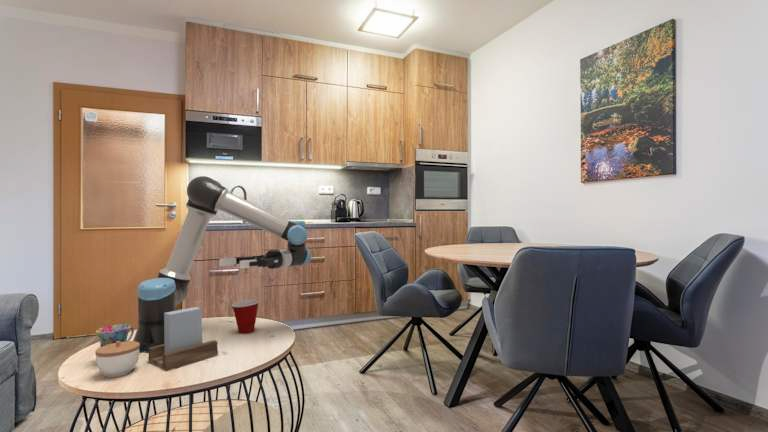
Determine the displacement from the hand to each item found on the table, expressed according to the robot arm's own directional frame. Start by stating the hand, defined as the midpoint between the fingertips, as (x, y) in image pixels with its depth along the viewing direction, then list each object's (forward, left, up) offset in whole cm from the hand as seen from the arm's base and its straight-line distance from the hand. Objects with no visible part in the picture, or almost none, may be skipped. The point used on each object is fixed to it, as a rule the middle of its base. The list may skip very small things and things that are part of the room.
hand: (229, 263), depth 138 cm
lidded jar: (-2, -34, -29) cm, 45 cm away
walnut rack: (+2, -17, -29) cm, 34 cm away
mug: (-15, -30, -29) cm, 45 cm away
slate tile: (+2, -17, -27) cm, 33 cm away
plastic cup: (-8, +12, -29) cm, 32 cm away
